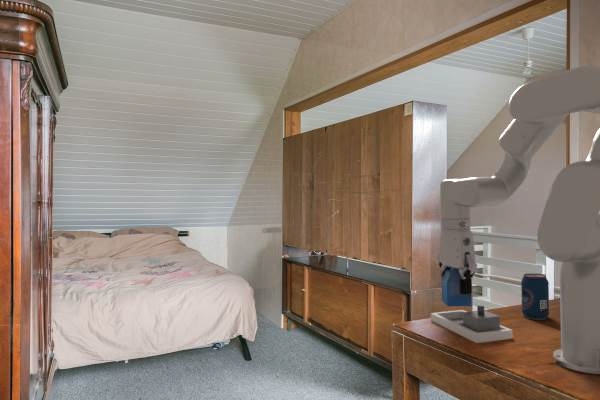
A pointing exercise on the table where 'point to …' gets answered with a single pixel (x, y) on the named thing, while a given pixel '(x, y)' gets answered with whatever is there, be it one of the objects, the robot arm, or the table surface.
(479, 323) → the charcoal plug block
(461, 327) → the socket strip
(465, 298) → the perfume bottle
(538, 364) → the table surface
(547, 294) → the soda can
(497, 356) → the table surface
